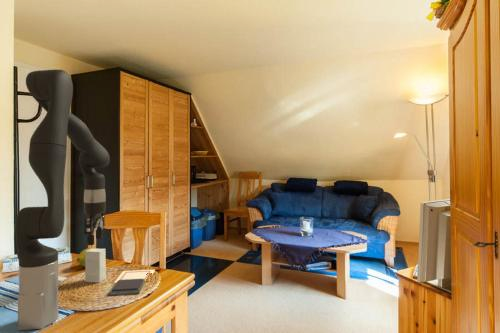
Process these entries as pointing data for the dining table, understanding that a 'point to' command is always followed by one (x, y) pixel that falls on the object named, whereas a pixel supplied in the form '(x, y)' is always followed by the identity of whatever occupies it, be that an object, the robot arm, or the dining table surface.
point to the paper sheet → (134, 274)
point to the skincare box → (95, 265)
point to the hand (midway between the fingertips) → (95, 241)
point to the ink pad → (127, 286)
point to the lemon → (82, 257)
